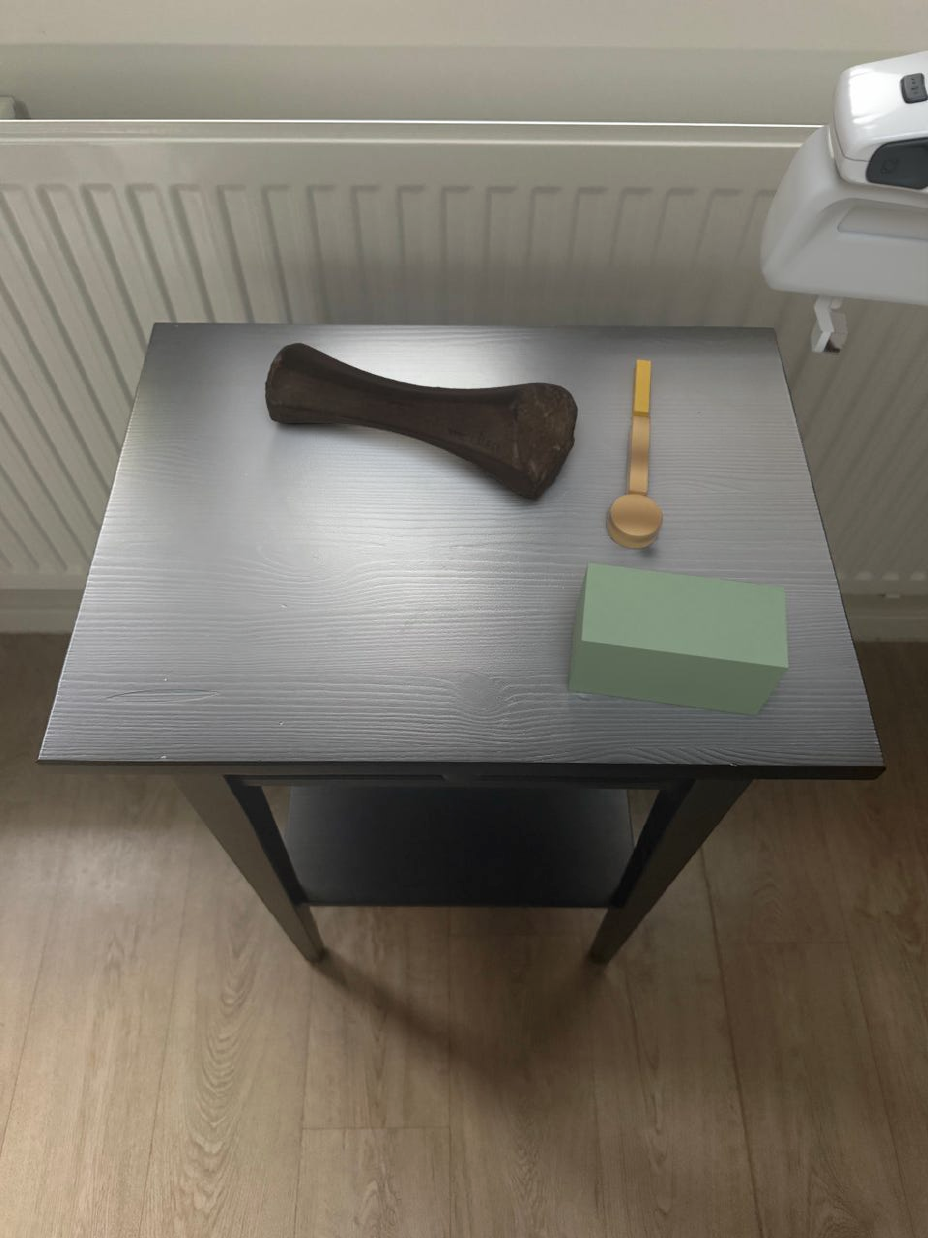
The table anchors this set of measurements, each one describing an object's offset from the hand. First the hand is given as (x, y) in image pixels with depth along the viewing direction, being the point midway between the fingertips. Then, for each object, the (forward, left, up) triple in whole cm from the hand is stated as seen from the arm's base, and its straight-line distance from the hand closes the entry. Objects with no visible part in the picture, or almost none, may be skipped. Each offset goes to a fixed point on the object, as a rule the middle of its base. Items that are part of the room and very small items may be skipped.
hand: (905, 355), depth 55 cm
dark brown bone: (+31, -13, -29) cm, 45 cm away
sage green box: (+8, +6, -29) cm, 31 cm away
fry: (+11, -24, -29) cm, 39 cm away
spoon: (+11, -12, -29) cm, 33 cm away
